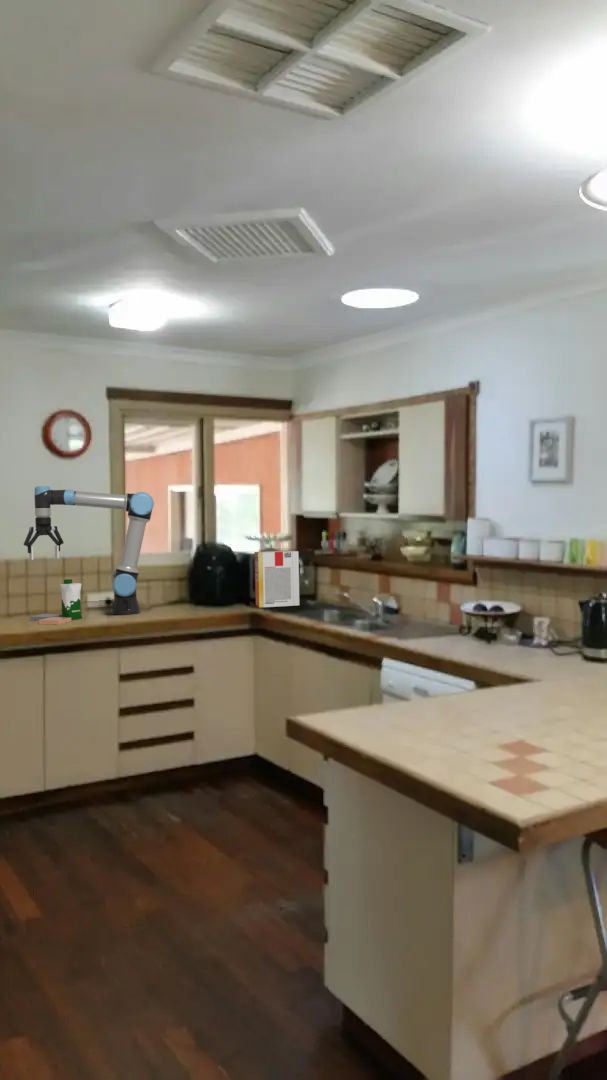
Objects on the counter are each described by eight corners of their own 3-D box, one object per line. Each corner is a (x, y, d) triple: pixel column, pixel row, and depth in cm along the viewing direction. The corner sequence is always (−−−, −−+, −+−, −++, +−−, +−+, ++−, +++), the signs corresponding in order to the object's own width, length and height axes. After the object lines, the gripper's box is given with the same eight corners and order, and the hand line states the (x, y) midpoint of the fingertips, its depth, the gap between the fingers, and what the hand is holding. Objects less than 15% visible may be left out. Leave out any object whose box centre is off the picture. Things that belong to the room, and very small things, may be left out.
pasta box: (295, 603, 479) (294, 550, 478) (299, 605, 472) (298, 551, 470) (255, 605, 473) (254, 551, 471) (259, 607, 465) (258, 552, 464)
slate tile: (61, 618, 434) (61, 614, 434) (48, 621, 424) (48, 617, 424) (43, 617, 438) (43, 613, 438) (30, 620, 428) (30, 616, 428)
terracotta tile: (71, 621, 422) (71, 617, 422) (58, 624, 411) (58, 620, 411) (52, 620, 425) (52, 616, 425) (38, 624, 415) (38, 619, 415)
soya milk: (73, 617, 437) (72, 578, 436) (84, 618, 432) (83, 579, 431) (59, 619, 430) (58, 580, 429) (70, 620, 425) (69, 580, 424)
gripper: (62, 516, 440) (64, 557, 441) (15, 517, 423) (17, 560, 424) (69, 516, 434) (70, 557, 435) (22, 517, 418) (23, 560, 419)
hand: (44, 559), depth 430 cm, fingers open, 13 cm apart
